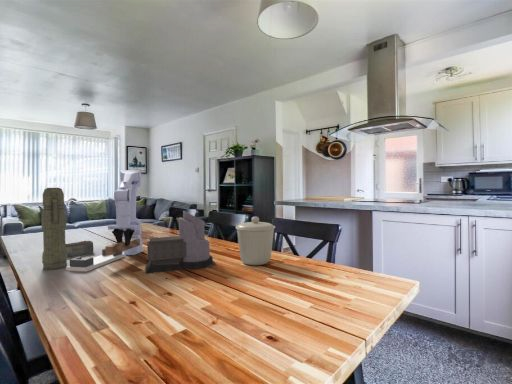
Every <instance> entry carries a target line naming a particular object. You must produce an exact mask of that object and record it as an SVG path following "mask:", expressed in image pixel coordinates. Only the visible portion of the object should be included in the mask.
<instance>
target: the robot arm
mask: <svg viewBox="0 0 512 384" xmlns="http://www.w3.org/2000/svg"><path fill="white" fill-rule="evenodd" d="M119 178H120V181H121V182H120V183H119V184H118V185H119V186H118V188H117V189H116V190H114V191H113V192H114V193H113V199H114V205H115V214H116V215H115V217H116V218H115V221H116V224H108V225H107V230H112V231H111V232H112V233H111V234H113V236H114V238H115V240H116V243H119V242H122V241H125V245H126V246H128V245H130V241H131V239H133V238H140V246H137V247H134V248H131V249H128V250H125V251H122V253H124V254H125V256H136V255H137V254H140V253H142V252H144V251H145V250H144V249H143V238H142V236H141V235H142V229H143V228H142V221H141V220H140V219H139V218H137V192H138V188H140V187H141V185H142V171H141V170H140V169H137V170H134V169H133V170H130V169H129V170H127V169H126V170H125V169H124V170H123V169H121V170H120V172H119Z"/></svg>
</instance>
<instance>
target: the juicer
mask: <svg viewBox="0 0 512 384" xmlns="http://www.w3.org/2000/svg"><path fill="white" fill-rule="evenodd" d="M182 212H183V214H182V216H183V217H178V236H177V235H175V236H165V237H164V236H163V237H150V238H149V241H147V242H146V243H147V261H148V263H146V265H144V269H145V271H144V273H145V274H146V275H147V274H156V273H164V272H174V271H181V270H185V271H187V270H188V271H191V270H192V271H193V270H194V271H195V270H202V268H203V269H206V268H213V267H214V266H216V262H215V260H213V256H212V255H210V253H211V252H210V240H208V239H206V236H205V235H206V234H205V225H206V222H205V221H204V220H202V219H201V218H199V217H197V216H195V215H193V214H191V213H189V212H188V211H185V210H183V211H182ZM212 266H213V267H212Z"/></svg>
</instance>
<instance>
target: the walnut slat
mask: <svg viewBox="0 0 512 384" xmlns="http://www.w3.org/2000/svg"><path fill="white" fill-rule="evenodd" d="M137 246H140V238H133V239H131V241H130V245H128V246H126V245H125V241H124V240H122V242H119V243H117V242H116V243H112V244H109V245H107V246H104V247H105V248H104V249H105V255H114V254H116V253H119V252H122V253H123V252H124V251H125V250H128V249H131V248H134V247H137Z"/></svg>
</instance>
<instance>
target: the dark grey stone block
mask: <svg viewBox="0 0 512 384" xmlns="http://www.w3.org/2000/svg"><path fill="white" fill-rule="evenodd" d="M65 244H66V250H67V258H71V257H73V258H74V257H80V256H85V255H91V254H94V241H92V240H81V241H77V242H70V243H65Z"/></svg>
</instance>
